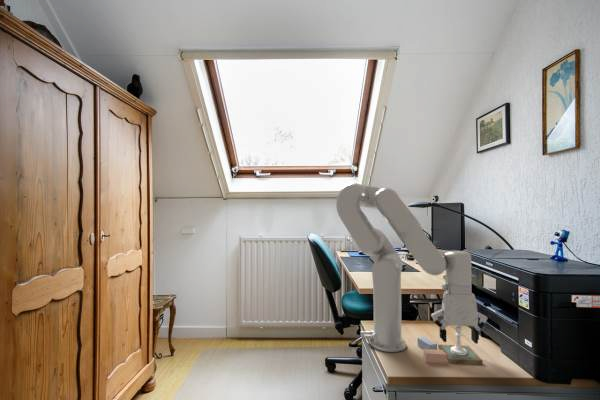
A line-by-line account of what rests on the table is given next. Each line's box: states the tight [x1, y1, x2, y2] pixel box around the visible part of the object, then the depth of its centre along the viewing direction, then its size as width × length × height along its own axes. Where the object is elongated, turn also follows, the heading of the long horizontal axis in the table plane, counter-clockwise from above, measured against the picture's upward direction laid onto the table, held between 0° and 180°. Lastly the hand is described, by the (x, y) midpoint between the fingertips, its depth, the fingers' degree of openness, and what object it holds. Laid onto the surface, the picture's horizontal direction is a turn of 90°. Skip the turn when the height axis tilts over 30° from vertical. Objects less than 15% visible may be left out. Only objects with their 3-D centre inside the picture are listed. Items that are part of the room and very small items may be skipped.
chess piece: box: [450, 326, 467, 355], centre depth 102 cm, size 5×5×10 cm
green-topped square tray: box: [437, 344, 483, 365], centre depth 102 cm, size 10×10×1 cm
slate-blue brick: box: [417, 336, 438, 350], centre depth 107 cm, size 6×3×3 cm, turn 19°
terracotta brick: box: [422, 349, 447, 364], centre depth 99 cm, size 6×3×3 cm, turn 83°
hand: (459, 341), depth 102 cm, fingers open, 9 cm apart
